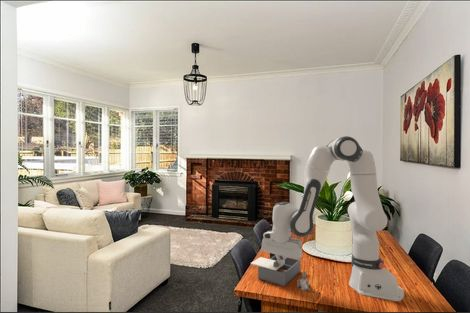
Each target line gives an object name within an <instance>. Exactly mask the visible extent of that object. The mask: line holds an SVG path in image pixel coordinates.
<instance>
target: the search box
mask: <svg viewBox="0 0 470 313" xmlns="http://www.w3.org/2000/svg"><path fill="white" fill-rule="evenodd" d="M279 257H280V259H281V260H283V259H284V258H283V256H279ZM269 259H271V260H275V261H276V260H277V258H276V255H275V256H273V257H272V258H270V257H269ZM279 269H283V270H287V271H285V272H284V273H282V272H279V271H278V270H279ZM279 269H278V270H276V271H275V270H271V269H267V268H264V267H260V266H257V279H258V280H261V281H264V282H267V283H271V284H275V285H278V286H281V287H286V286H287V284H289V283H290V282H291V281H292V280H293V279H294V278H295V277H296V276H297V275H298V274H300V273H301V259H294V258H290V257H287V258H286V260H285V264H284V265H283V266H281V267H280V268H279Z"/></svg>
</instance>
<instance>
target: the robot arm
mask: <svg viewBox="0 0 470 313" xmlns="http://www.w3.org/2000/svg"><path fill="white" fill-rule="evenodd" d="M335 161H346V162H347V163H348V166H349V175H350V176H349V177H350V178H349V179H350V189H351V193H352V195H353V198H354V201H353V202H351V203H350V204H349V205H348V207H347V214H348V217H349V223H350V228H351V230H350V231H351V235H352V254H351V274H350V278H349V281H348V285H349V286H350V287H351V288H352V289H353V290H354V291H356V292H357V293H358V294H359V295H361V296H365V297H371V298H377V299H382V300H387V301H392V302H401V301H402V300H403V299H404V298H405V291H404V289H403V288H402V287H401V286H400V285H399V283H398V281H397V277H396V276H395V275H394V274H393V273H391V272H390V271H389V270H388V269H387V268H385V262H384V259H381V258H380V241H379V237H378V235H377V232H380V231H382V230H384V229H385V228H386V227H387V224H388V216H387V214H386V213H385V211H384V208H383V204H382V202H381V201H382V200H381V198H380V195H379V190H378V180H377V178H378V177H377V170H376V169H377V168H376V162H375V158H374V155H373V154H372V152H371V151H369V150H366V149H363V148H362V146H360V144H359V142H358V141H357V140H356V139H355V138H354V137H351V136H348V135H345V136H340V137H336V138H334V139H333V140H332V141H330V142H329V143H328V144H327V145H326V146H325V145H316V146H314V147H313V148H312V150H311V152H310V154H309V156H308V159H307V161H306V163H305V166H304V170H303V177H302V181H303V195H302V198H301V199H302V200H301V202H300V205H299V207H296V206H294V205H292V204H291V203H290V202H288V201H280V202H277V203H275V204H274V206H273V209H272V217H271V218H272V224H273V225H272V227H271V228H272V229H271V230H268V231H266V232H264V233H263V235H262V237H263V238H262V239H261V240H262V241H261V250H262V252H264V253H268V254H270V253H272V254H276V258H277V260H278V264H282V265H284V264H285V260H286V258H287V257H289V258H293V259H297V260H301V258H302V257H303V242H302V240H301V239H300V238H301V237H302V238H304V237H307V236H309V235H311V234H312V233H313V230H314V219H313V218H314V213H315V209H316V204H317V202H318V199H319V195H320V192H321V191H322V189H323V187H324V185H325V182H326V180H327V178H328V175H329V172H330V169H331V166H332V165H333V163H334V162H335ZM291 232H292V233H291ZM291 234H293V235H295V236H297V237H300V238H296V237H292V235H291ZM280 255H281V256H283V258H284V259H283V260H281V259H280V257H279V256H280Z"/></svg>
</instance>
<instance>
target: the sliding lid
mask: <svg viewBox="0 0 470 313" xmlns="http://www.w3.org/2000/svg"><path fill="white" fill-rule="evenodd" d="M250 265H251V266H257V267H258V266H260V267H264V268H267V269H271V270H275V271H276V270H278V269H279V268H280V267H281V266H283V265H282V264H278V260H276V261H275V260H271V259H270V258H266V257H262V256H260V257H258V258H256V259H255V260H253V261H252V262H250Z"/></svg>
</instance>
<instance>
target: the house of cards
mask: <svg viewBox="0 0 470 313" xmlns="http://www.w3.org/2000/svg"><path fill="white" fill-rule="evenodd" d="M297 288H300V290H301V291H308V292H309V291H310V290H311V289H310V285H309V281H308V279H307V272H306V271H305V270H303V271H302V278H300V279H297Z"/></svg>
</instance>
